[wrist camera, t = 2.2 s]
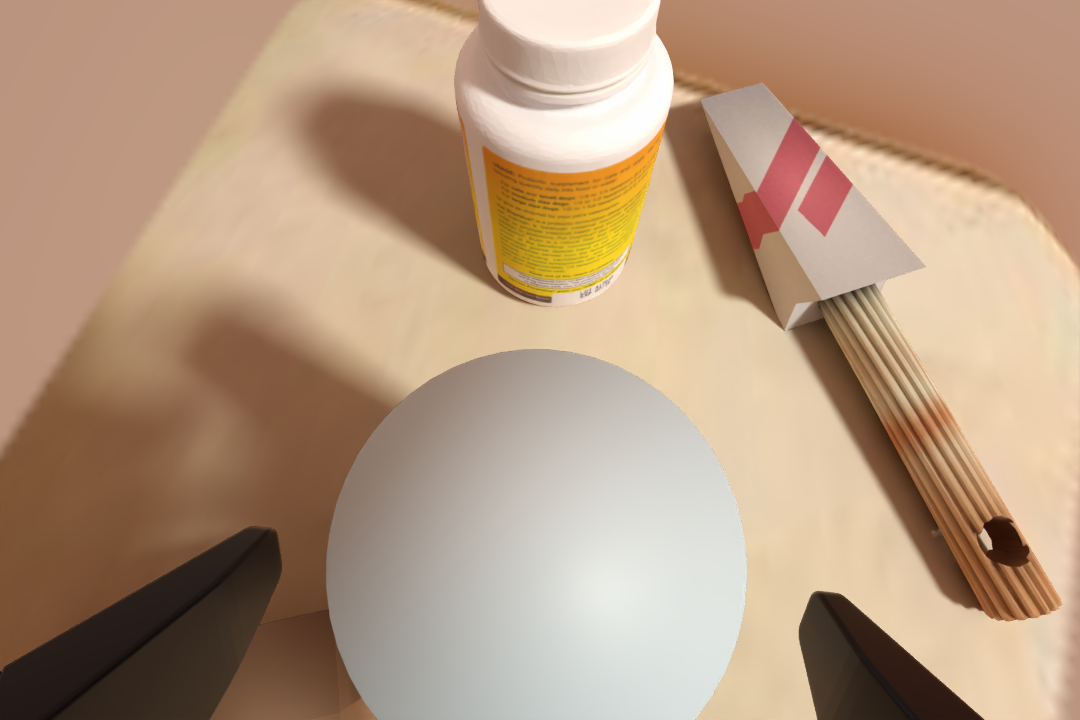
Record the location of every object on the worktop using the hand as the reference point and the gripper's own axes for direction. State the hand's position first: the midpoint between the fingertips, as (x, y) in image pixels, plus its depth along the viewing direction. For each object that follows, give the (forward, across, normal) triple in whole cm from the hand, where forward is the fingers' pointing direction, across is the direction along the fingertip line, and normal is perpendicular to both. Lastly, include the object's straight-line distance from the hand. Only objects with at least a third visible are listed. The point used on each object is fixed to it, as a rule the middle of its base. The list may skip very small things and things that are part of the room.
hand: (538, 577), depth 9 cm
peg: (+6, 0, +6) cm, 8 cm away
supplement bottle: (+14, +1, -2) cm, 14 cm away
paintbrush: (+13, -10, -1) cm, 16 cm away
